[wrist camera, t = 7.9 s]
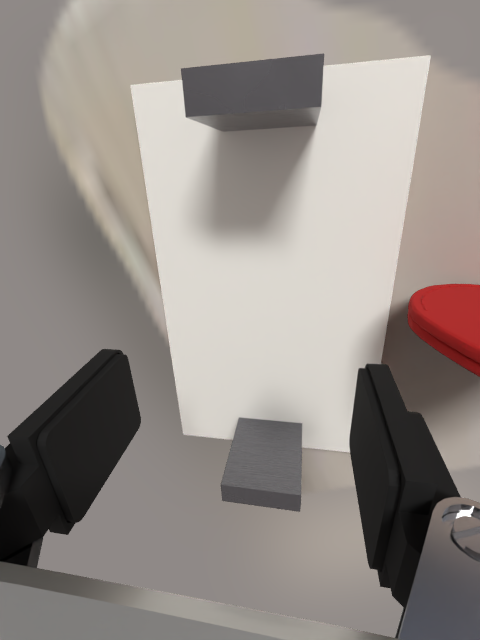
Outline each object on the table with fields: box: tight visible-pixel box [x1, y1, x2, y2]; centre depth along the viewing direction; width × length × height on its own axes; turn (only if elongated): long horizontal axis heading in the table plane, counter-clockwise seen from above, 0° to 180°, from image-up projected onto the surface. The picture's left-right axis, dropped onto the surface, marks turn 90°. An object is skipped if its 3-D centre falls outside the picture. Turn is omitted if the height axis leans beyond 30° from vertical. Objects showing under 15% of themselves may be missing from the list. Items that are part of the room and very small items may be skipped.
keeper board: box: [130, 54, 431, 511], centre depth 16 cm, size 12×20×6 cm, turn 3°
